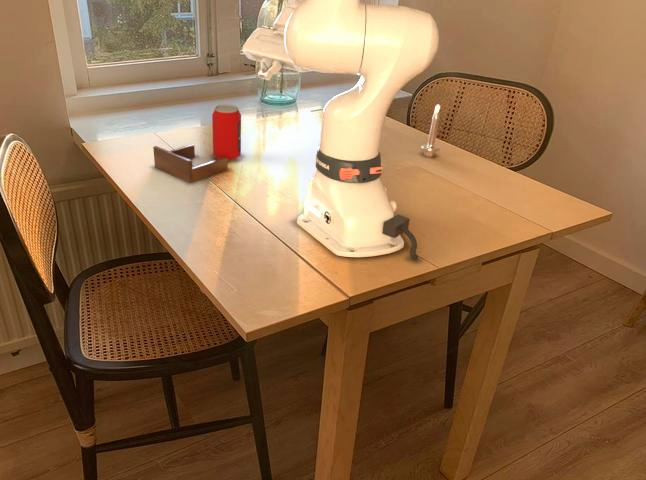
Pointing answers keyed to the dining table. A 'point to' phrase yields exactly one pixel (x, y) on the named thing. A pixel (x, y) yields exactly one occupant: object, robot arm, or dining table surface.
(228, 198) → the dining table surface
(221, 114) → the beverage can
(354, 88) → the robot arm
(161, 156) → the bay
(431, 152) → the screw
